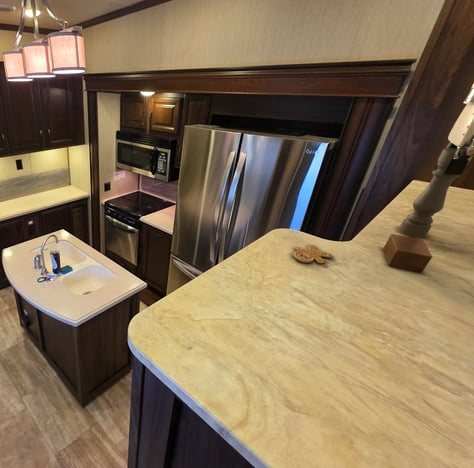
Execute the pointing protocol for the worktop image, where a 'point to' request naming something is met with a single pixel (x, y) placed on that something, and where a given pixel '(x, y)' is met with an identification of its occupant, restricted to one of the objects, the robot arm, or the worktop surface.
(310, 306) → the worktop surface
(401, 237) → the brown wooden block
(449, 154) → the candle holder
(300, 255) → the cookie
